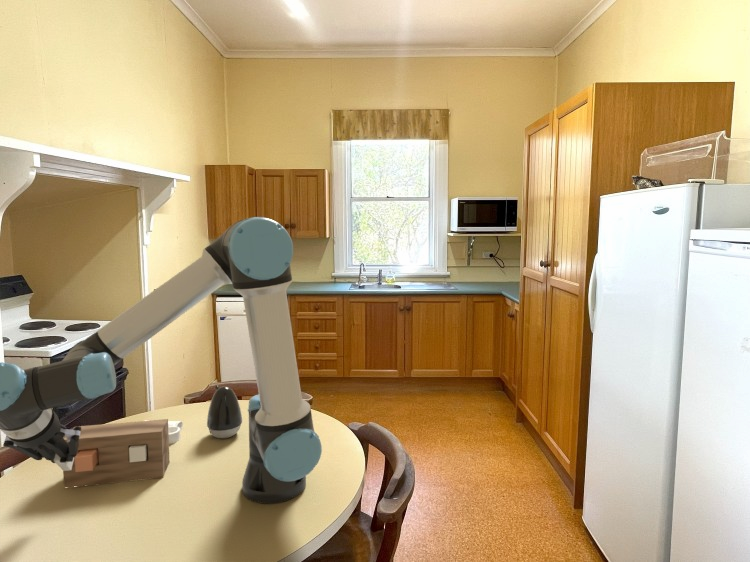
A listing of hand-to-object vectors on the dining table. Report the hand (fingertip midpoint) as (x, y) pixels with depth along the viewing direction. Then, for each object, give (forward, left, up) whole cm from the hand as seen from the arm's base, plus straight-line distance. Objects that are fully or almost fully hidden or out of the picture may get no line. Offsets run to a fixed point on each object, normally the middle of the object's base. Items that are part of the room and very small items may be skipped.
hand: (68, 464), depth 100 cm
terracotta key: (+8, -2, -5) cm, 10 cm away
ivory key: (+9, -13, -5) cm, 17 cm away
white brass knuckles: (+33, -15, -11) cm, 38 cm away
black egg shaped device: (+26, -35, -10) cm, 45 cm away
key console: (+12, -8, -10) cm, 18 cm away
